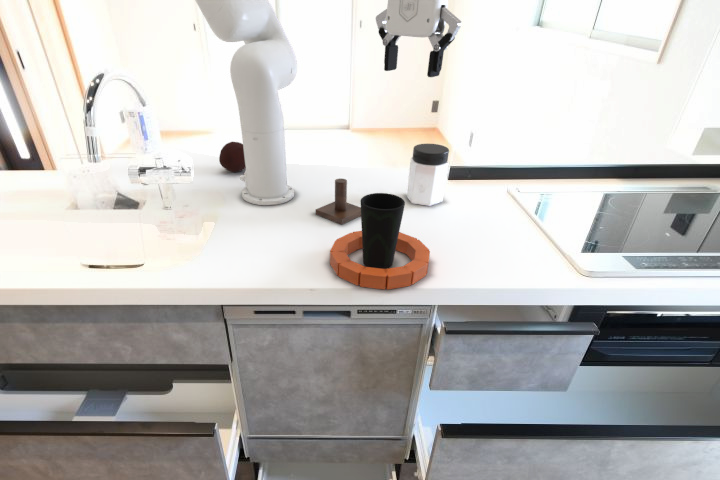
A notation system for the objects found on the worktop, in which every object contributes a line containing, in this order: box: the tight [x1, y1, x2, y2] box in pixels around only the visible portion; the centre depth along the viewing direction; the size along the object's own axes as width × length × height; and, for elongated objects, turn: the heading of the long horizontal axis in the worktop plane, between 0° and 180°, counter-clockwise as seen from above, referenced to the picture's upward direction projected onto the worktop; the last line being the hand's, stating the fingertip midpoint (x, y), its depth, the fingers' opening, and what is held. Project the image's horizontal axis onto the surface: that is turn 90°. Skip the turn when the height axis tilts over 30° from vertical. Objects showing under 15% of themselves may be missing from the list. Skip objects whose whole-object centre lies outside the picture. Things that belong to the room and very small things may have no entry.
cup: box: [359, 192, 406, 269], centre depth 80 cm, size 8×8×12 cm
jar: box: [406, 143, 450, 207], centre depth 105 cm, size 9×8×12 cm
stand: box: [315, 178, 361, 225], centre depth 99 cm, size 8×8×8 cm
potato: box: [218, 141, 246, 173], centre depth 121 cm, size 8×9×8 cm
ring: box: [329, 230, 431, 290], centre depth 83 cm, size 18×18×3 cm
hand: (411, 73), depth 83 cm, fingers open, 9 cm apart
